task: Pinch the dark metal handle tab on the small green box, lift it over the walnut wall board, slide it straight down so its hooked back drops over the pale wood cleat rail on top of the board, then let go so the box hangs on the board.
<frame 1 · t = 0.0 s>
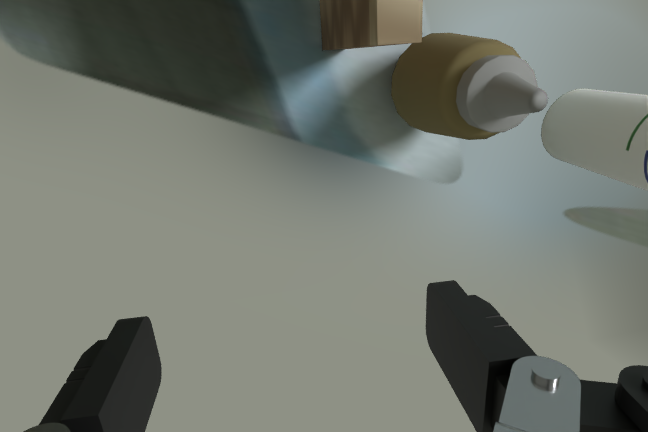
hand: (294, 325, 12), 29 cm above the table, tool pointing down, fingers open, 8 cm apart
squeeze bottle: (422, 81, 40), on the table
cylindrical container: (573, 125, 43), on the table
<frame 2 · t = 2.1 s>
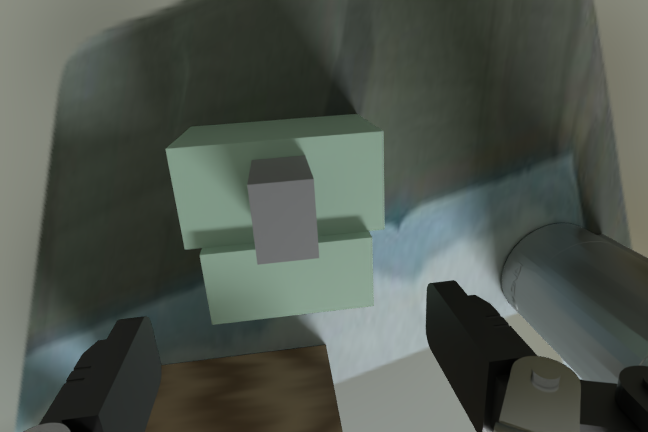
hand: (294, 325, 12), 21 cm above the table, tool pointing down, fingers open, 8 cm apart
wall board: (231, 366, 38), on the table
green box: (279, 160, 32), on the table
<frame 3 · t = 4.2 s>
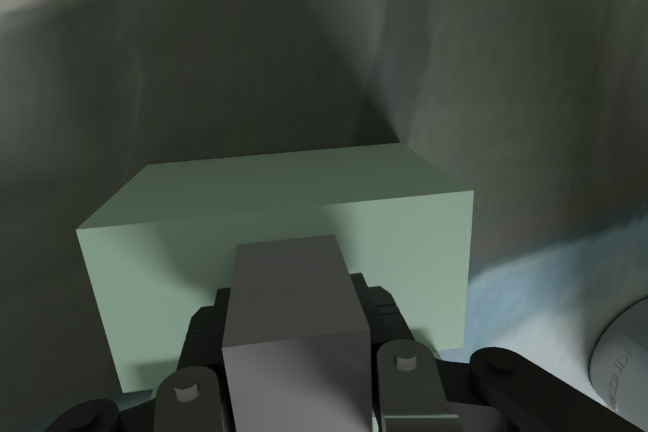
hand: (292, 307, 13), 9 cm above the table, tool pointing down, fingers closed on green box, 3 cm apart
green box: (283, 212, 21), on the table, touching gripper
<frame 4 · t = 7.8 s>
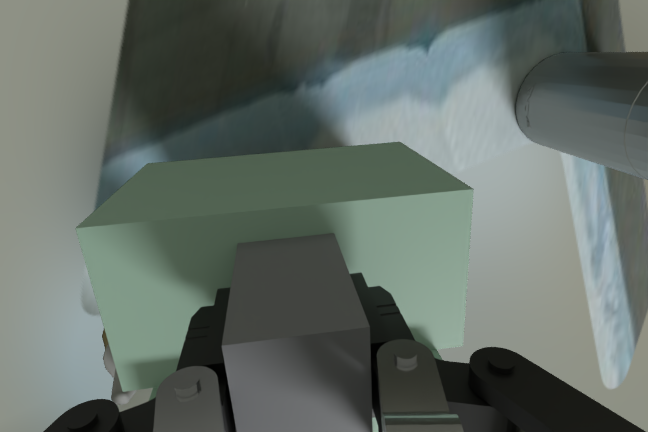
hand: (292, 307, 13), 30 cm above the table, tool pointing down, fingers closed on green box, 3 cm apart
squeeze bottle: (175, 269, 45), on the table
green box: (283, 211, 21), point 21 cm above the table, touching gripper
cylindrical container: (154, 394, 50), on the table
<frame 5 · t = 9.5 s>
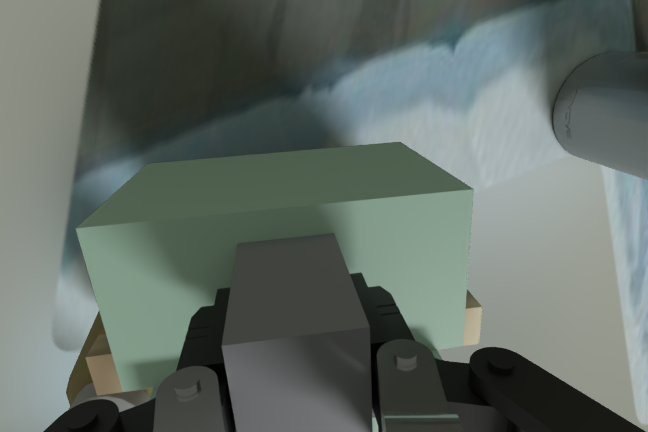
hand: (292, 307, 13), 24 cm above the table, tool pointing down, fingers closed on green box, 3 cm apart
wall board: (280, 203, 37), on the table
squeeze bottle: (160, 298, 39), on the table
green box: (283, 211, 21), point 15 cm above the table, touching gripper
when the fingers open (21 cm above the table, at t = 11.2 s): green box moves 1 cm, resting on wall board.
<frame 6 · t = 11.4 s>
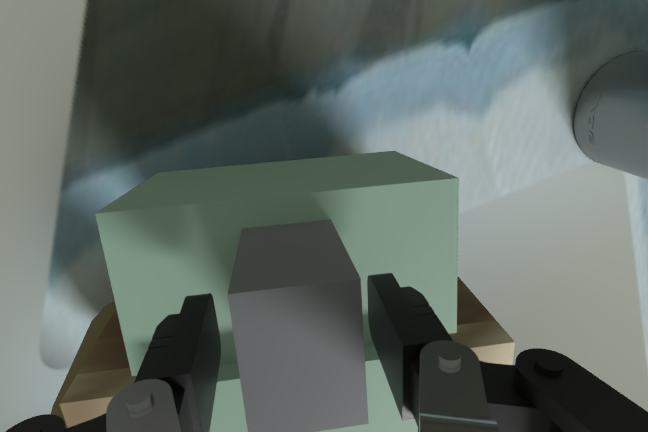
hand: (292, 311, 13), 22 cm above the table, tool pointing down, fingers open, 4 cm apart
wall board: (282, 213, 35), on the table
squeeze bottle: (155, 314, 37), on the table
green box: (285, 217, 23), point 12 cm above the table, tilted 5°, touching wall board
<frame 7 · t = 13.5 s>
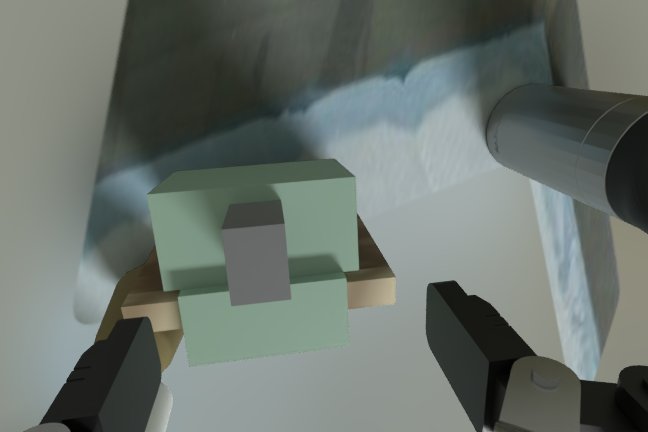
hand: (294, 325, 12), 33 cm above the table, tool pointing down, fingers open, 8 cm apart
wall board: (263, 203, 46), on the table
squeeze bottle: (163, 281, 47), on the table
green box: (260, 203, 33), point 12 cm above the table, tilted 5°, touching wall board
cylindrical container: (142, 399, 52), on the table
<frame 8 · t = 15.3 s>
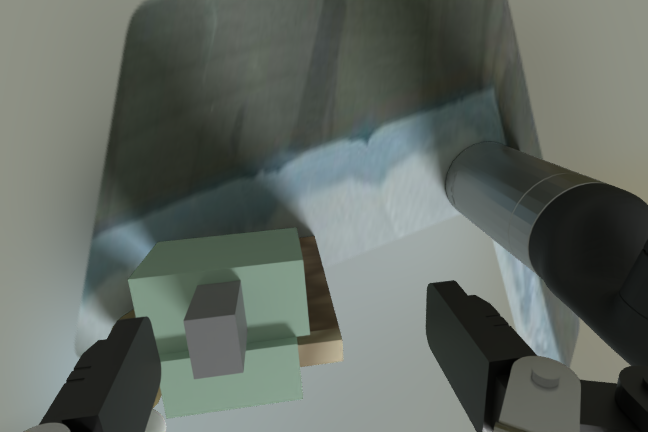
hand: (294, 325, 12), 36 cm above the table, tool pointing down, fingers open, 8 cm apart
wall board: (243, 251, 50), on the table
green box: (232, 266, 38), point 12 cm above the table, tilted 5°, touching wall board
cylindrical container: (139, 425, 58), on the table
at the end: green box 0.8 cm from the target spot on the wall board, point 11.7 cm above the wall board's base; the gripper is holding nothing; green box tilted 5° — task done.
